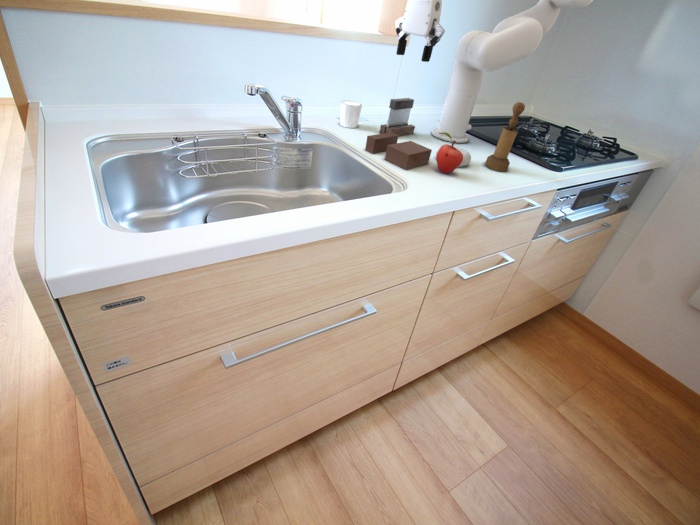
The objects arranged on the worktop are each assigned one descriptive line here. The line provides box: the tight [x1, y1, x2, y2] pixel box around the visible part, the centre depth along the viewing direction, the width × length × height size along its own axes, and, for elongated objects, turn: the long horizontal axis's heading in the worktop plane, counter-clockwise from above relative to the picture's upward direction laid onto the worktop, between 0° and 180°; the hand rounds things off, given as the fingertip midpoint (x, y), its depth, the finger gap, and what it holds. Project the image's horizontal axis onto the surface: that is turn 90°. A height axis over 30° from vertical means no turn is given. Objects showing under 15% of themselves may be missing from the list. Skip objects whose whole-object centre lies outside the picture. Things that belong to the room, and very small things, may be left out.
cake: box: [384, 140, 433, 171], centre depth 100 cm, size 10×8×4 cm
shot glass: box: [339, 100, 363, 129], centre depth 120 cm, size 7×7×7 cm
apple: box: [435, 132, 463, 174], centre depth 96 cm, size 8×7×10 cm
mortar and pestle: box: [484, 101, 526, 172], centre depth 102 cm, size 7×6×18 cm
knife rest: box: [378, 122, 416, 137], centre depth 122 cm, size 12×5×2 cm, turn 133°
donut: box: [435, 145, 472, 167], centre depth 105 cm, size 10×4×10 cm
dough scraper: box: [386, 97, 415, 133], centre depth 119 cm, size 10×2×11 cm, turn 133°
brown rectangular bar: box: [364, 132, 399, 154], centre depth 105 cm, size 10×3×4 cm, turn 133°
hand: (412, 58), depth 109 cm, fingers open, 9 cm apart
